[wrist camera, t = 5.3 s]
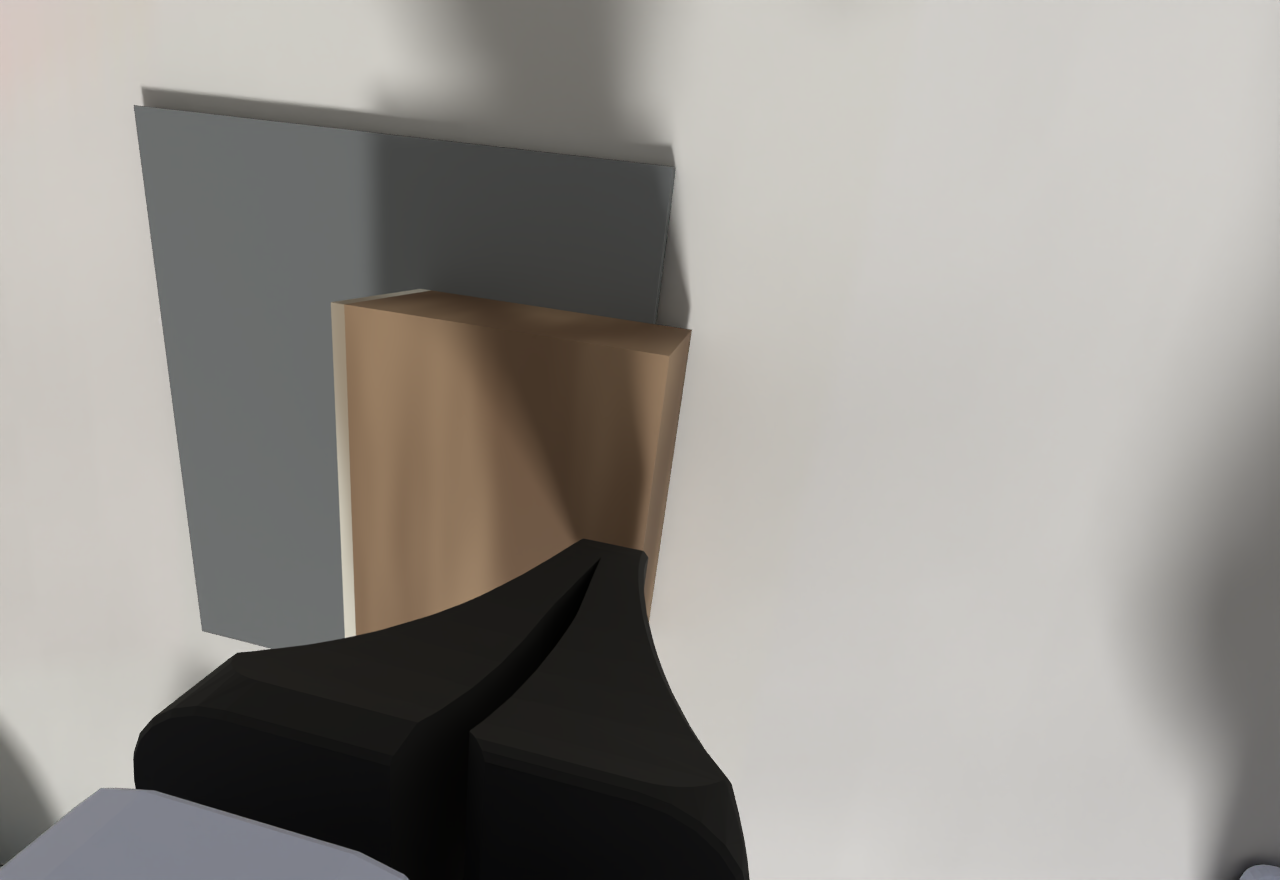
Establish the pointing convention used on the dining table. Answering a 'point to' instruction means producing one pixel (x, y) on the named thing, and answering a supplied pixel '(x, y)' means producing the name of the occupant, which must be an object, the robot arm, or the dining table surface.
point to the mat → (334, 271)
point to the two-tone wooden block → (492, 444)
